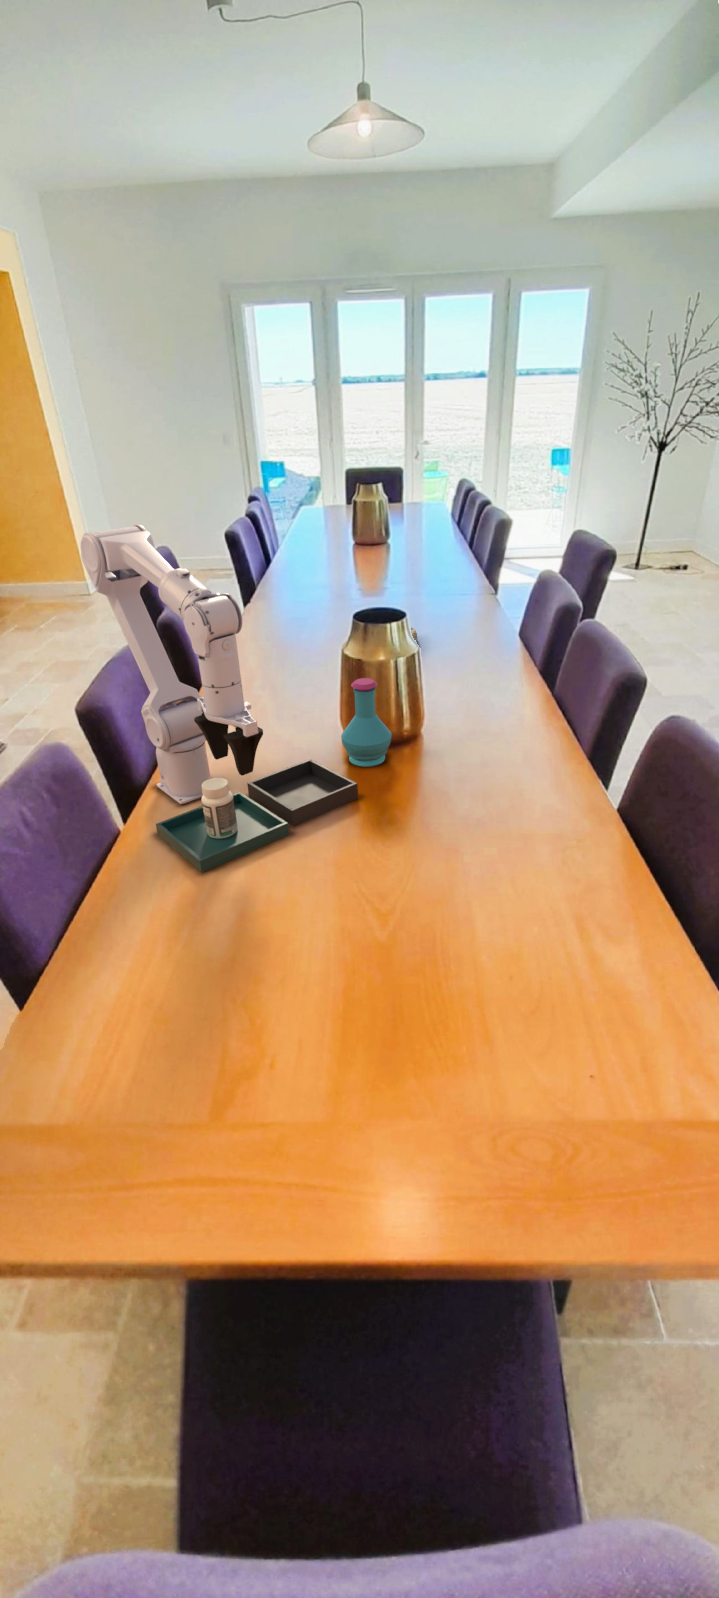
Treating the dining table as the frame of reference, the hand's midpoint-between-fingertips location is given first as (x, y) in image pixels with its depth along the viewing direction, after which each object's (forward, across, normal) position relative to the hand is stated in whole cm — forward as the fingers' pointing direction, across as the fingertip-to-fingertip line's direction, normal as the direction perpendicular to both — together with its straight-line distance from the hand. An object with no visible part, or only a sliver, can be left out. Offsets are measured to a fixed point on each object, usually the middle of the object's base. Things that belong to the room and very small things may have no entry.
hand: (233, 764), depth 112 cm
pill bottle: (+9, -3, +5) cm, 11 cm away
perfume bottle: (+10, +2, -29) cm, 30 cm away
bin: (+9, -2, -11) cm, 15 cm away
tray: (+9, -3, +5) cm, 11 cm away
